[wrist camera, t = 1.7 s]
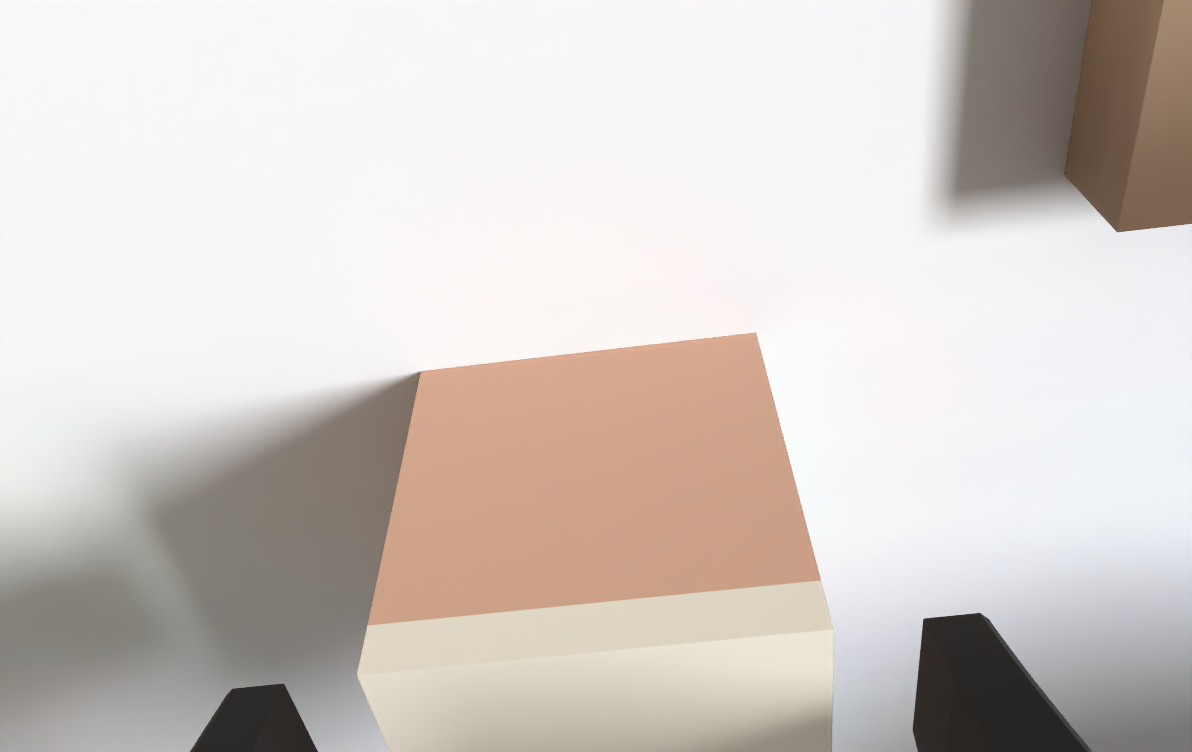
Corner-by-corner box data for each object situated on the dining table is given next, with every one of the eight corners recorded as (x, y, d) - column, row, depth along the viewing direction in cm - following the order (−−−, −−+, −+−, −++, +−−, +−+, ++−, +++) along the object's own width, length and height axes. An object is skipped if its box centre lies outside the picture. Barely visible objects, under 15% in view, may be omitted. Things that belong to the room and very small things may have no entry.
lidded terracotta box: (765, 565, 16) (829, 877, 12) (485, 593, 16) (455, 908, 12) (755, 329, 13) (833, 629, 9) (421, 368, 14) (357, 674, 10)
